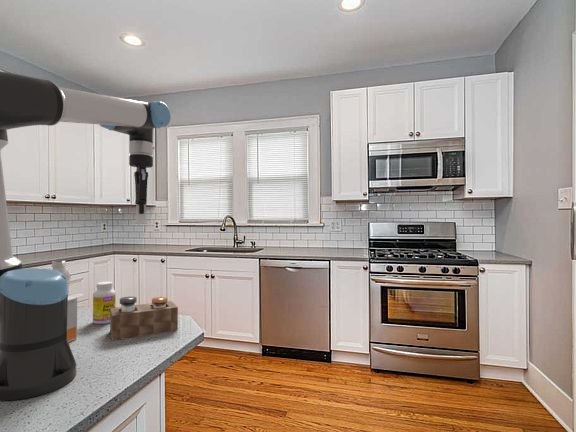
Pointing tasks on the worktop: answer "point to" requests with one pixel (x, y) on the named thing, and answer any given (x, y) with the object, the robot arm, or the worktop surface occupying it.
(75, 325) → the skincare box
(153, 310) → the walnut block
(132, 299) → the charcoal plunger
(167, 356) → the worktop surface
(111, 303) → the supplement bottle
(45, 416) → the worktop surface
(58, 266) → the plastic bottle
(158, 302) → the rust plunger
